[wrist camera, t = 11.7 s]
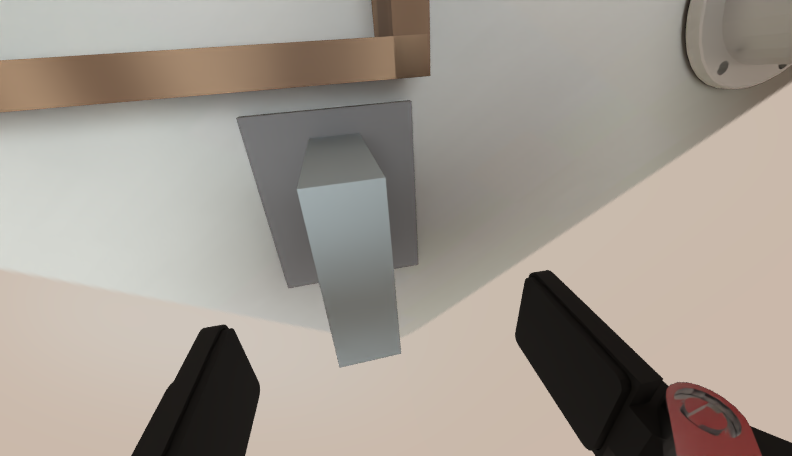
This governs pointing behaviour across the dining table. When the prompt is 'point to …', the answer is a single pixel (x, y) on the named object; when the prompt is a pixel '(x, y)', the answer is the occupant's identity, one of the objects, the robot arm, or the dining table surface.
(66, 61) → the tray
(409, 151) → the felt pad
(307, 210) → the block
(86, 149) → the dining table surface
